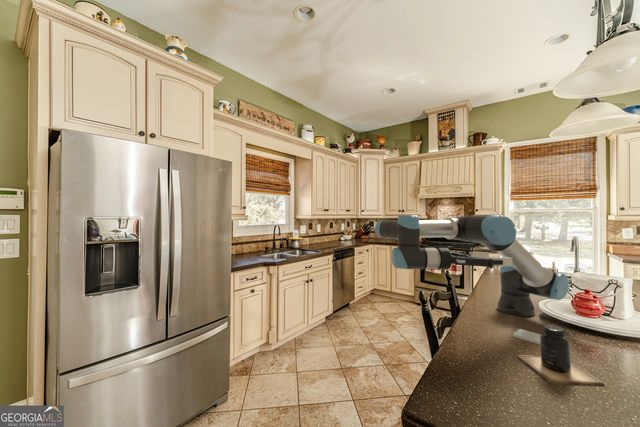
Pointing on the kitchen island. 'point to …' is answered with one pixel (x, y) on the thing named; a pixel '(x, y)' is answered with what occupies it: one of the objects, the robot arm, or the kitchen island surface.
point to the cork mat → (551, 376)
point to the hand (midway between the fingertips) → (499, 258)
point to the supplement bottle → (555, 349)
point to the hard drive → (527, 336)
